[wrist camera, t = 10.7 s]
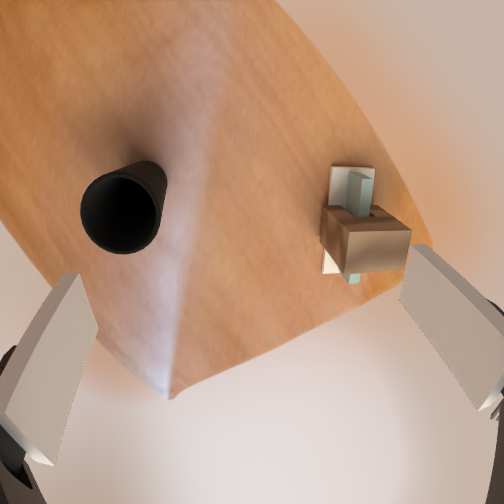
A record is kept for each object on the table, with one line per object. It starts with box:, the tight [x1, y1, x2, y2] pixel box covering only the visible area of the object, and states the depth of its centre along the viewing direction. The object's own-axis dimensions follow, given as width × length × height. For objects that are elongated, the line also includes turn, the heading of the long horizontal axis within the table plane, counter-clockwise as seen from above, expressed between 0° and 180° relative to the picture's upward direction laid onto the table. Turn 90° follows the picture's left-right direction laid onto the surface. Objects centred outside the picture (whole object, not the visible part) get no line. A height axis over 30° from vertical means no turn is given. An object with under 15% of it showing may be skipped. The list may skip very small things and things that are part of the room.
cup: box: [80, 161, 167, 254], centre depth 31 cm, size 8×8×12 cm
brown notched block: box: [320, 205, 412, 275], centre depth 37 cm, size 5×8×9 cm, turn 90°
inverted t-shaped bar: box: [322, 166, 375, 284], centre depth 40 cm, size 15×6×5 cm, turn 0°
